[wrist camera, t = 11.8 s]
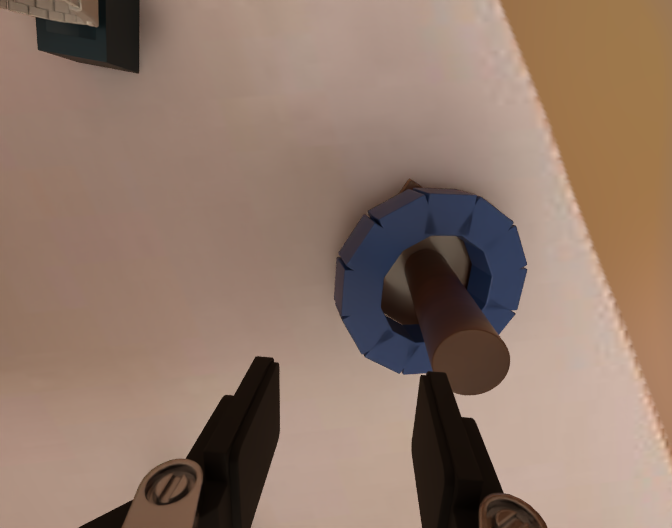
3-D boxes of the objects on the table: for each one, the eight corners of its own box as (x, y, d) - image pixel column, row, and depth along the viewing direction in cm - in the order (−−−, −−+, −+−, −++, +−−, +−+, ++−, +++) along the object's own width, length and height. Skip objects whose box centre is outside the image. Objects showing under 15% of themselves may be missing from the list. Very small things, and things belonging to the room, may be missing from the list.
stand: (339, 279, 28) (315, 385, 15) (409, 178, 25) (449, 204, 12) (435, 339, 28) (487, 487, 16) (512, 247, 26) (648, 339, 13)
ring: (300, 309, 23) (304, 328, 21) (406, 149, 21) (422, 151, 19) (433, 376, 27) (448, 398, 25) (534, 247, 25) (560, 257, 23)
